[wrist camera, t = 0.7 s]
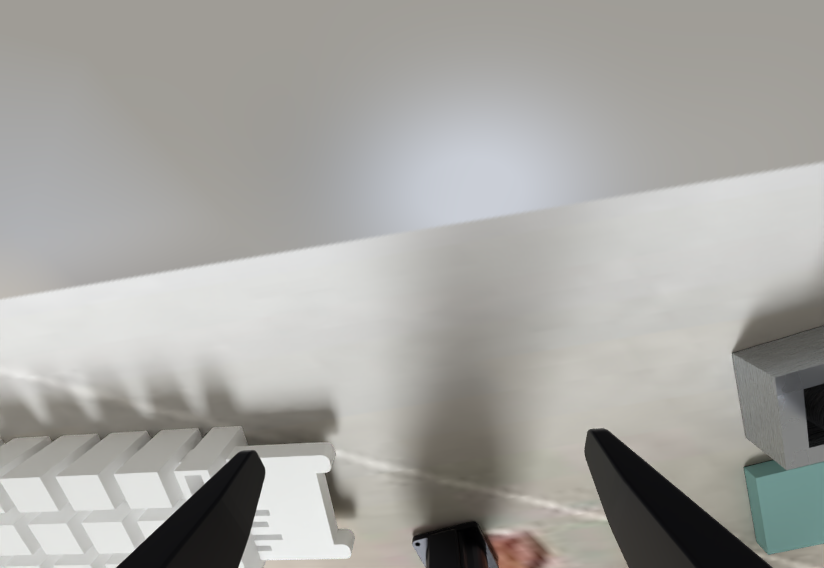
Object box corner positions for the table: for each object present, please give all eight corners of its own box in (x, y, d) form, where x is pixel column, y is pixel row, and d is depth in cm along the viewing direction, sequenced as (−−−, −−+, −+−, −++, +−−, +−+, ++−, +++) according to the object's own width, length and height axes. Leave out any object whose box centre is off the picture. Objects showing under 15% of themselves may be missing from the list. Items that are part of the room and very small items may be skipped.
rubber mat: (874, 517, 27) (890, 530, 26) (756, 542, 28) (768, 554, 27) (871, 435, 24) (889, 446, 24) (743, 467, 26) (755, 478, 25)
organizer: (-110, 483, 25) (318, 465, 22) (-27, 437, 30) (337, 417, 27) (-26, 593, 29) (349, 589, 26) (36, 537, 34) (360, 529, 31)
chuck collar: (862, 407, 24) (922, 437, 21) (745, 437, 25) (786, 470, 22) (859, 315, 22) (924, 335, 19) (731, 353, 23) (774, 377, 20)
